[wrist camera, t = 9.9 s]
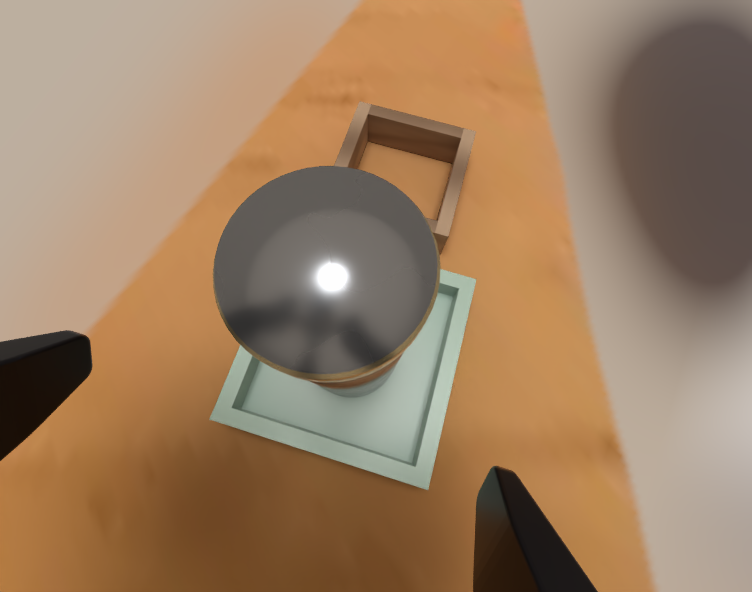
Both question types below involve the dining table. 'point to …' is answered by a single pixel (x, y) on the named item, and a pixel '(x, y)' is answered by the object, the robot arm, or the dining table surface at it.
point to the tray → (361, 400)
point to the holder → (412, 150)
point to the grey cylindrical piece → (327, 277)
